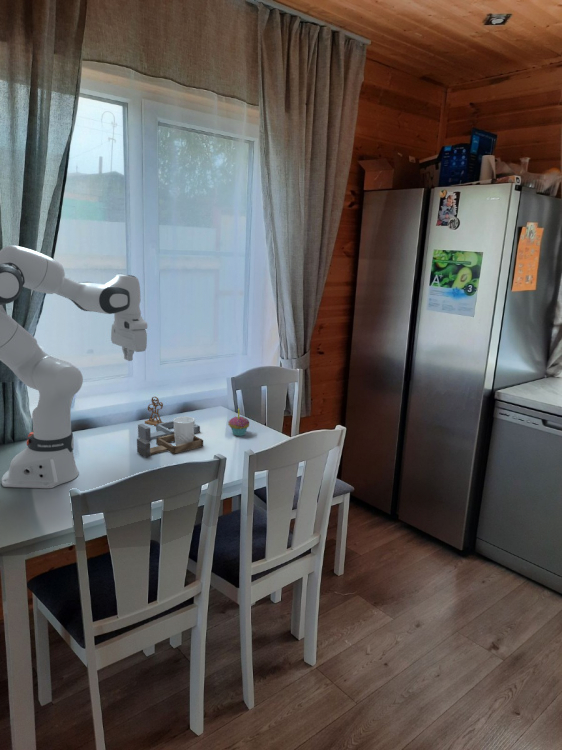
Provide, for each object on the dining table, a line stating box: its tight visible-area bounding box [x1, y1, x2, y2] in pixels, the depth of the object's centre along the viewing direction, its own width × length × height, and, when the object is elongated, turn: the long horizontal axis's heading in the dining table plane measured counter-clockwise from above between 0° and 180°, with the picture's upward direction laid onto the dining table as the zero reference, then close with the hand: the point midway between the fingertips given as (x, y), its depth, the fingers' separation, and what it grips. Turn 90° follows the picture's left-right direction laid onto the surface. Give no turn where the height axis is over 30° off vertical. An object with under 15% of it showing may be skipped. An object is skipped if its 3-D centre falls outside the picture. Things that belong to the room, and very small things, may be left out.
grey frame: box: [137, 420, 201, 442], centre depth 220 cm, size 22×12×5 cm, turn 132°
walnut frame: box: [136, 434, 204, 458], centre depth 205 cm, size 22×12×5 cm, turn 132°
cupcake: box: [227, 408, 250, 437], centre depth 222 cm, size 9×8×12 cm
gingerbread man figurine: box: [144, 396, 164, 427], centre depth 230 cm, size 9×4×12 cm, turn 59°
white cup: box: [172, 415, 196, 446], centre depth 209 cm, size 8×8×10 cm
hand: (128, 360), depth 196 cm, fingers closed
